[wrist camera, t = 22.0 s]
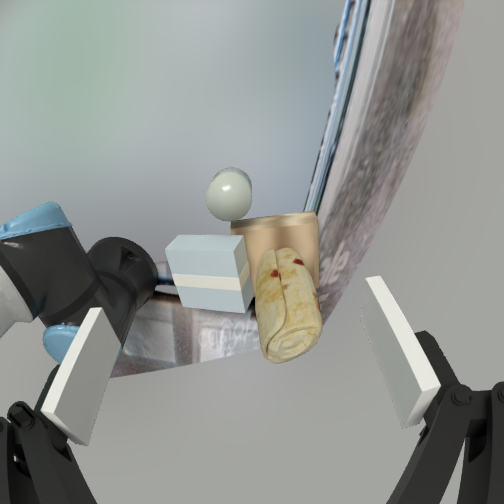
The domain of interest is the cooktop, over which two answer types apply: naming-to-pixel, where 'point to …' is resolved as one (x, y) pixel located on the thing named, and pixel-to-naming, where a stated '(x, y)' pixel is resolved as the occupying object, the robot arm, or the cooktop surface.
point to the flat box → (211, 272)
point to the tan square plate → (280, 239)
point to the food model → (286, 306)
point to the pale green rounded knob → (229, 194)
